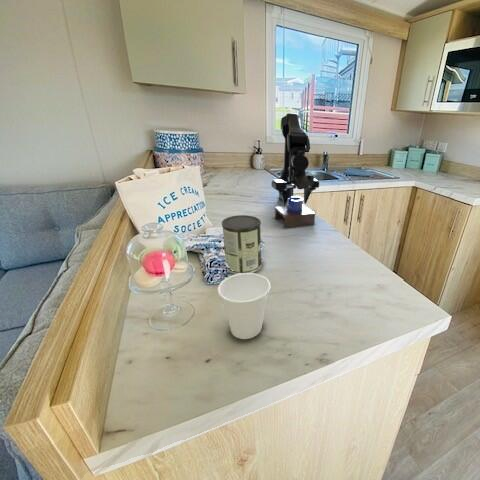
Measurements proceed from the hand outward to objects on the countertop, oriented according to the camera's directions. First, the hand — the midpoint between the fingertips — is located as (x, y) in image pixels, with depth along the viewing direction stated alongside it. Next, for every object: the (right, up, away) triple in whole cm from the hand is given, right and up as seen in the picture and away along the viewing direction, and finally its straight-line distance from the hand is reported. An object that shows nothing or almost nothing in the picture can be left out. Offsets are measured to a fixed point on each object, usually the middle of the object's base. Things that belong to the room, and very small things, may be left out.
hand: (295, 204), depth 114 cm
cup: (-5, -34, -56) cm, 66 cm away
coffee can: (-12, -23, -33) cm, 42 cm away
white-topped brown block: (-1, -7, +3) cm, 8 cm away
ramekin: (0, -2, +1) cm, 3 cm away
